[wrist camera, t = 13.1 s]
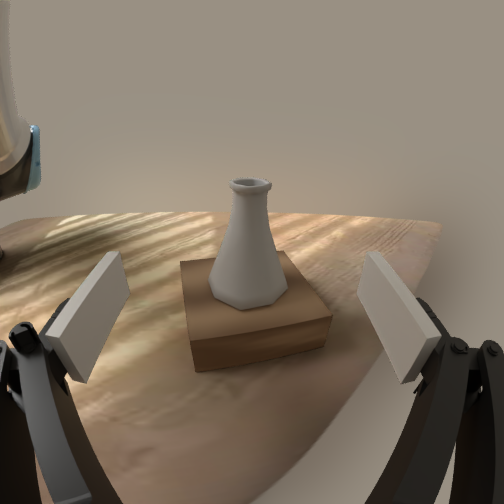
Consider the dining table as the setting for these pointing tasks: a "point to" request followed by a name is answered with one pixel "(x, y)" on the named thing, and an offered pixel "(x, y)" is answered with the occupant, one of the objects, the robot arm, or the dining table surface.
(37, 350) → the robot arm
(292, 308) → the plinth
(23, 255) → the dining table surface
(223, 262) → the flask
